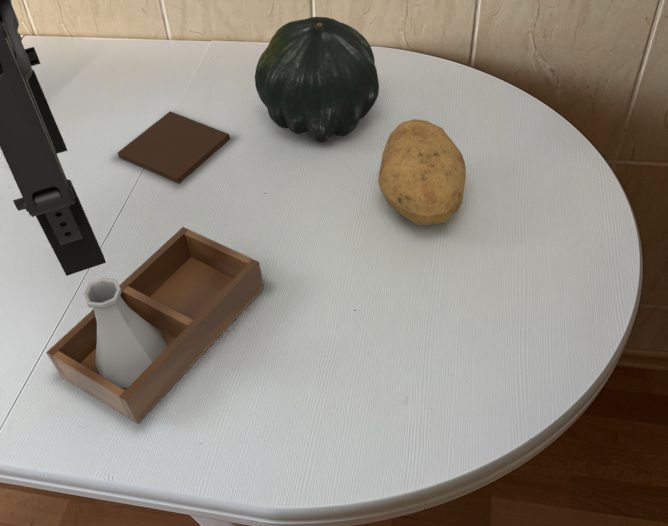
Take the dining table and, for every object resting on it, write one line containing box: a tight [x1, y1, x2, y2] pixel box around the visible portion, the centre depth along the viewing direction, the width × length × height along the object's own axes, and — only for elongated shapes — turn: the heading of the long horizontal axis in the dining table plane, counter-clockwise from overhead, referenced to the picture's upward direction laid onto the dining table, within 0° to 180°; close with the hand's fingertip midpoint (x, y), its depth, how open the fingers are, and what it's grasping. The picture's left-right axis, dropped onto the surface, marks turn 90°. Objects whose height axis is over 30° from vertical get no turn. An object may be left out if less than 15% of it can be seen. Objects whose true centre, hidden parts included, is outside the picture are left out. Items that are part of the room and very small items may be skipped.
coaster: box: [117, 110, 231, 184], centre depth 88 cm, size 10×10×1 cm
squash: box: [254, 16, 380, 143], centre depth 86 cm, size 14×15×15 cm
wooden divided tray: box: [46, 226, 265, 425], centre depth 69 cm, size 10×19×4 cm, turn 147°
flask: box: [82, 277, 168, 388], centre depth 64 cm, size 7×7×10 cm
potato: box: [377, 118, 467, 226], centre depth 77 cm, size 10×14×8 cm
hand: (66, 205), depth 51 cm, fingers open, 13 cm apart
